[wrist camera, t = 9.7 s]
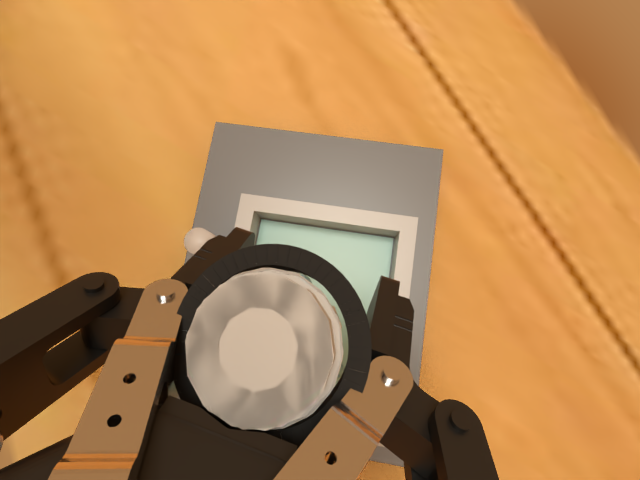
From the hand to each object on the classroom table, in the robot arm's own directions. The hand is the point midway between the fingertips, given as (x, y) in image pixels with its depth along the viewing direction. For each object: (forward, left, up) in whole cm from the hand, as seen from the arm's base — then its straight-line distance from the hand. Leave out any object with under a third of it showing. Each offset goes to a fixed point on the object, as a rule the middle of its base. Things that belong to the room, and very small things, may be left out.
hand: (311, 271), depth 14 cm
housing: (-1, 0, -11) cm, 11 cm away
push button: (0, -2, -5) cm, 5 cm away
